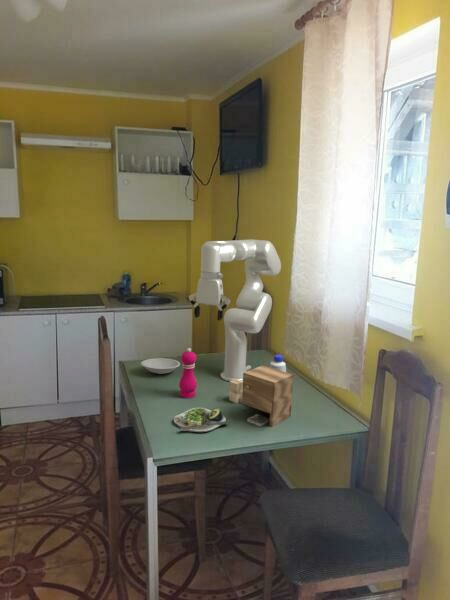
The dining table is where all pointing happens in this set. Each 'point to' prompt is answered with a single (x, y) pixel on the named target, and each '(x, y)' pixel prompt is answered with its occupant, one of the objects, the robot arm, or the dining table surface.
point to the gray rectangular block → (258, 420)
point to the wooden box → (268, 392)
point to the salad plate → (200, 420)
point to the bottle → (278, 363)
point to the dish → (160, 365)
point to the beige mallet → (236, 391)
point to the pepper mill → (188, 375)
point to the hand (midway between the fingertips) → (208, 318)
